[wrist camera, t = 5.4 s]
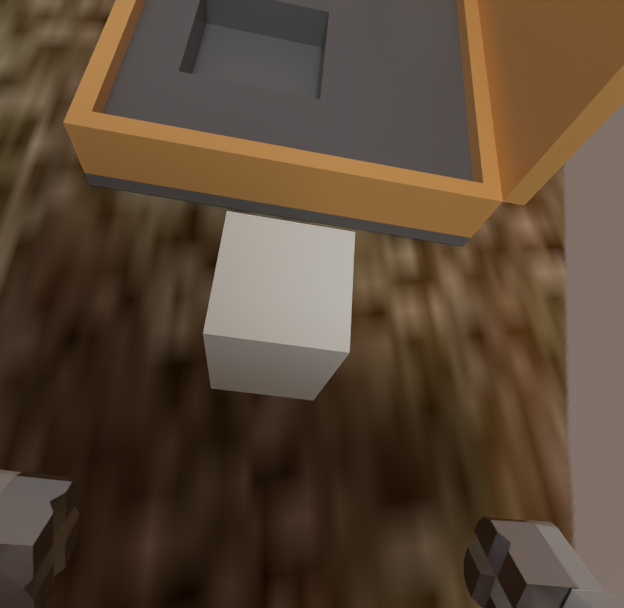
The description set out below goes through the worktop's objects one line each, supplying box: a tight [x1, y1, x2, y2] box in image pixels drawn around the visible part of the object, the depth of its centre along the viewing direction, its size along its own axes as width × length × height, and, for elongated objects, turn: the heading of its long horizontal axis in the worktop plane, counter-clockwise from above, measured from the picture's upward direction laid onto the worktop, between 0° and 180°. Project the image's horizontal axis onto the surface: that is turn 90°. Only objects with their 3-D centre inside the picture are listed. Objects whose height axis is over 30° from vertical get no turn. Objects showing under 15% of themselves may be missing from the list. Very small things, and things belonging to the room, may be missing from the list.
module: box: [203, 211, 355, 400], centre depth 20 cm, size 5×5×8 cm
